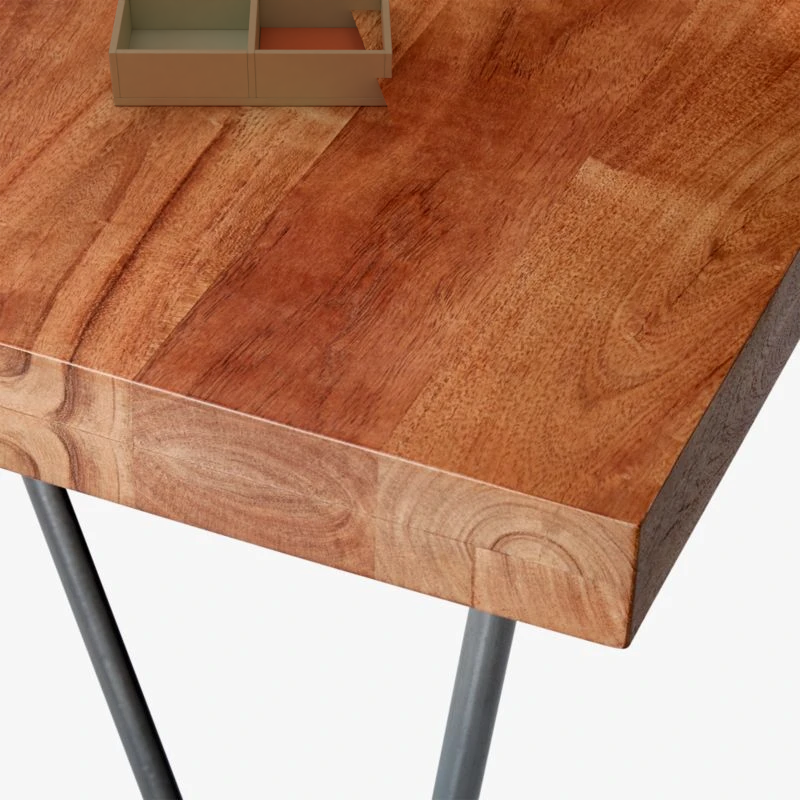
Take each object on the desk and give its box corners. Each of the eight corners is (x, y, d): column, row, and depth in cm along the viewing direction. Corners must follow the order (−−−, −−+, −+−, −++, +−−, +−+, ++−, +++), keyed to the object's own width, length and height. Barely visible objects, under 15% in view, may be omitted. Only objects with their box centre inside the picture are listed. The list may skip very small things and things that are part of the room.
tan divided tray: (387, 34, 97) (388, -17, 95) (391, 106, 91) (392, 53, 89) (126, 33, 97) (121, -18, 94) (114, 106, 91) (108, 52, 89)
